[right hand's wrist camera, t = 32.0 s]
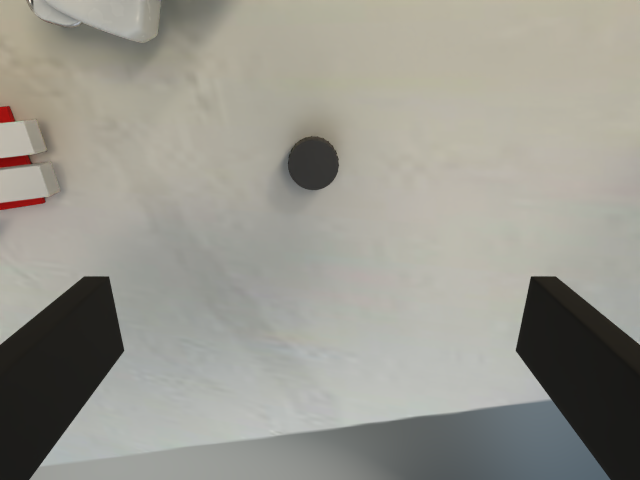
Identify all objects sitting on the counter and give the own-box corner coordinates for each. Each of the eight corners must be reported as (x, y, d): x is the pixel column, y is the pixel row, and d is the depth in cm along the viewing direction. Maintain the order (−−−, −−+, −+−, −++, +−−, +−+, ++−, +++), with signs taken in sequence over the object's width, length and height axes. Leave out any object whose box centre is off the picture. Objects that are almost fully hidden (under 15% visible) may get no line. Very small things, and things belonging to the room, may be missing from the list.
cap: (341, 179, 40) (343, 185, 38) (294, 188, 40) (293, 194, 38) (333, 131, 38) (334, 134, 36) (284, 141, 39) (282, 144, 36)
